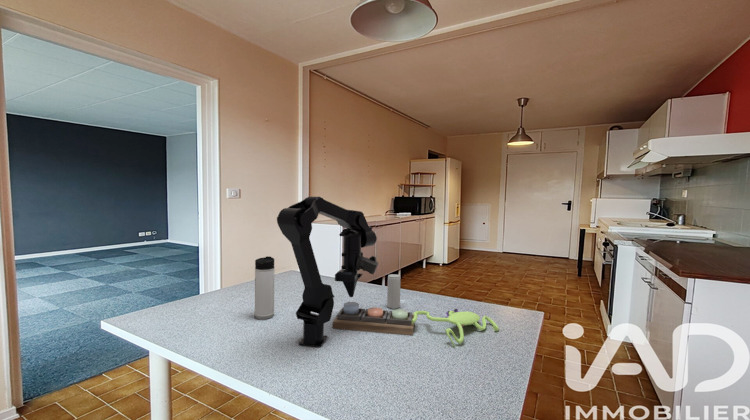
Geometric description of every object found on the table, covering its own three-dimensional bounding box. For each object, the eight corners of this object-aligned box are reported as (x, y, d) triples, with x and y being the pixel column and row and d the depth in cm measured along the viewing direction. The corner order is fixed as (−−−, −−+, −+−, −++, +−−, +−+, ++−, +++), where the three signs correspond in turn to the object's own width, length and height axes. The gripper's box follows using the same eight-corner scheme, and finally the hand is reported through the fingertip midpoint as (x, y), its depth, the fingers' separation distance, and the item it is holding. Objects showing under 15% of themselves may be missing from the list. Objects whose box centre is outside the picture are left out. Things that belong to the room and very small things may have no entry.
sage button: (407, 323, 101) (407, 315, 101) (391, 321, 102) (391, 313, 102) (408, 317, 106) (408, 309, 106) (392, 316, 107) (393, 308, 107)
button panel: (412, 335, 98) (413, 324, 98) (332, 328, 102) (332, 317, 102) (414, 320, 109) (414, 310, 109) (342, 314, 114) (342, 305, 114)
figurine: (403, 329, 103) (403, 311, 103) (459, 313, 119) (459, 297, 118) (447, 352, 88) (448, 332, 88) (505, 330, 104) (505, 313, 103)
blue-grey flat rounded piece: (356, 315, 104) (357, 307, 104) (341, 313, 105) (341, 306, 105) (360, 309, 109) (360, 302, 109) (345, 308, 110) (345, 301, 110)
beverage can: (399, 309, 120) (399, 277, 119) (386, 308, 121) (386, 276, 120) (400, 305, 125) (401, 274, 124) (388, 304, 126) (388, 273, 125)
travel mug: (277, 313, 114) (277, 256, 113) (269, 320, 107) (269, 260, 107) (260, 312, 115) (260, 256, 114) (251, 319, 108) (251, 259, 107)
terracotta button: (381, 321, 103) (381, 313, 103) (366, 319, 104) (366, 312, 103) (383, 315, 108) (384, 308, 108) (369, 314, 108) (369, 306, 108)
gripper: (371, 255, 96) (370, 308, 96) (380, 246, 114) (380, 290, 114) (334, 253, 97) (333, 305, 98) (349, 245, 116) (349, 288, 116)
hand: (351, 296), depth 107 cm, fingers closed
